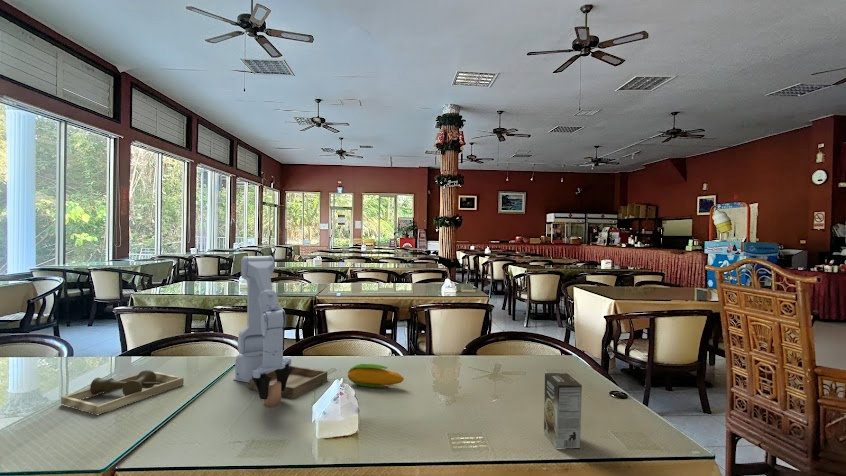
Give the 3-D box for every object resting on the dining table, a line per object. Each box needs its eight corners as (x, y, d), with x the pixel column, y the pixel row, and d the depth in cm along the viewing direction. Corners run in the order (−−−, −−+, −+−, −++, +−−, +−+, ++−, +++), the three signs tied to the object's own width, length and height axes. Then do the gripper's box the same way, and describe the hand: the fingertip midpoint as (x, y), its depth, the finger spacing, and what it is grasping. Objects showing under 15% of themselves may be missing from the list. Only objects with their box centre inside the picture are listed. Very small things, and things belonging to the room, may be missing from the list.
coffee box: (542, 433, 117) (543, 372, 117) (566, 432, 118) (567, 372, 118) (555, 450, 108) (557, 384, 108) (581, 449, 109) (582, 384, 108)
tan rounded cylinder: (260, 404, 133) (260, 385, 133) (271, 399, 138) (272, 379, 137) (273, 407, 131) (273, 387, 131) (284, 401, 136) (284, 382, 136)
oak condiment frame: (61, 405, 130) (61, 396, 130) (149, 377, 155) (149, 370, 155) (97, 415, 124) (97, 406, 124) (183, 384, 148) (183, 377, 148)
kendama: (104, 389, 143) (168, 386, 145) (83, 401, 134) (153, 398, 135) (103, 371, 143) (167, 368, 145) (82, 382, 134) (152, 379, 135)
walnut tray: (249, 389, 146) (249, 379, 146) (286, 373, 162) (286, 364, 162) (293, 397, 139) (293, 388, 139) (327, 380, 155) (327, 371, 155)
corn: (352, 358, 156) (407, 363, 151) (352, 379, 157) (407, 384, 152) (344, 366, 149) (401, 371, 144) (344, 387, 149) (401, 393, 145)
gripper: (266, 357, 126) (265, 405, 126) (299, 345, 139) (298, 388, 139) (247, 354, 128) (246, 401, 129) (281, 343, 142) (281, 385, 142)
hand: (272, 394), depth 134 cm, fingers open, 7 cm apart
